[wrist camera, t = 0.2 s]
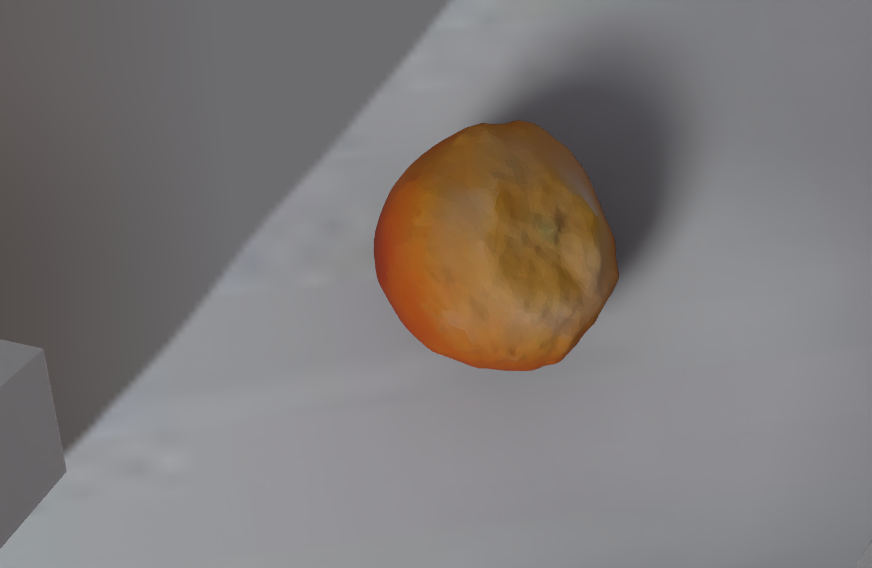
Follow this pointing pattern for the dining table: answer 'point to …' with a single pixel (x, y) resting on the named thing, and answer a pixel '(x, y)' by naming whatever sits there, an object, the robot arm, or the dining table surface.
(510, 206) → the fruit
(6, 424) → the robot arm
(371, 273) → the dining table surface
